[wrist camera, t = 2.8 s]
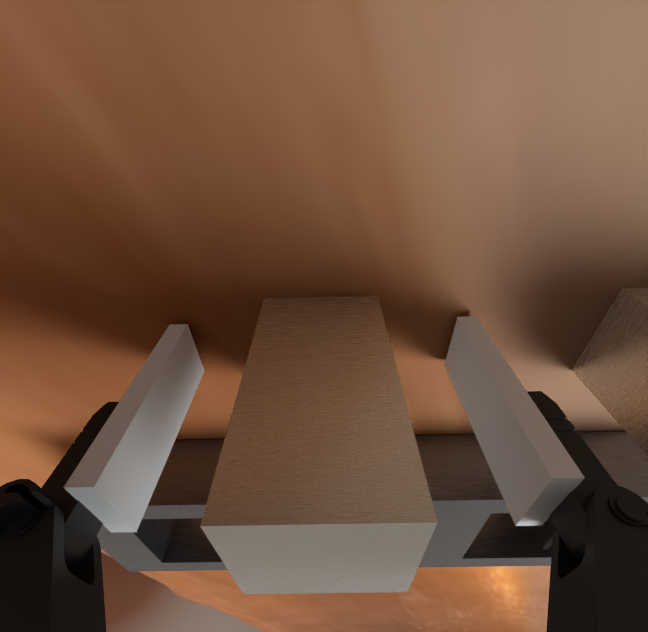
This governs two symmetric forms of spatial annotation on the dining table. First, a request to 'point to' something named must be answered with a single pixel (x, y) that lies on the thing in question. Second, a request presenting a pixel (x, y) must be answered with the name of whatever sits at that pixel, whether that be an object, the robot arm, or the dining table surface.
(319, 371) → the grey rectangular block
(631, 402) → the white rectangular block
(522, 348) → the dining table surface
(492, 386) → the robot arm
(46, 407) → the dining table surface
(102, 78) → the dining table surface
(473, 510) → the grey metal flat frame
